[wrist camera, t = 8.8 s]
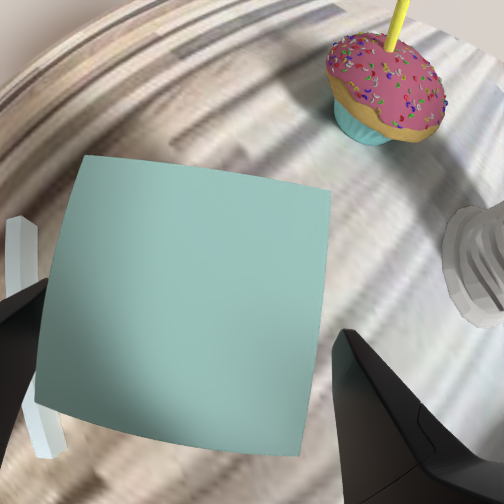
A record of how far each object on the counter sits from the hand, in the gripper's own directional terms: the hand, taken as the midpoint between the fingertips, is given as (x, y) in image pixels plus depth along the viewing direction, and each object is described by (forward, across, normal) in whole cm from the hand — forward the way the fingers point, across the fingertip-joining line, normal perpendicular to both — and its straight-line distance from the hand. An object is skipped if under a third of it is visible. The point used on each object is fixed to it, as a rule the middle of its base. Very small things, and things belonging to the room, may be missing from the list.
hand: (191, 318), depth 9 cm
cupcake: (+17, -9, -5) cm, 20 cm away
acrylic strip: (+4, +10, +8) cm, 13 cm away
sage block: (+6, 0, +5) cm, 8 cm away
